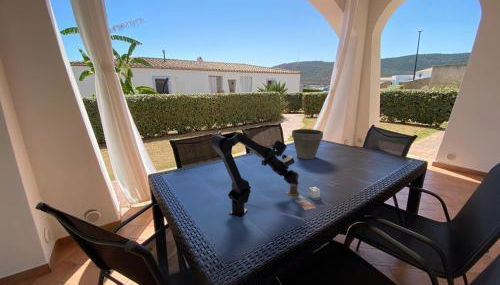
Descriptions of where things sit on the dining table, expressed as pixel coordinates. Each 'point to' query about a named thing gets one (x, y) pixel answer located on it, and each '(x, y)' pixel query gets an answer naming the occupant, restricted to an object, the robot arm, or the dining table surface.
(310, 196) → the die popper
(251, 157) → the dining table surface
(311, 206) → the board
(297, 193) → the pawn
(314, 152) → the plant pot
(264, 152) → the robot arm
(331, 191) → the dining table surface
